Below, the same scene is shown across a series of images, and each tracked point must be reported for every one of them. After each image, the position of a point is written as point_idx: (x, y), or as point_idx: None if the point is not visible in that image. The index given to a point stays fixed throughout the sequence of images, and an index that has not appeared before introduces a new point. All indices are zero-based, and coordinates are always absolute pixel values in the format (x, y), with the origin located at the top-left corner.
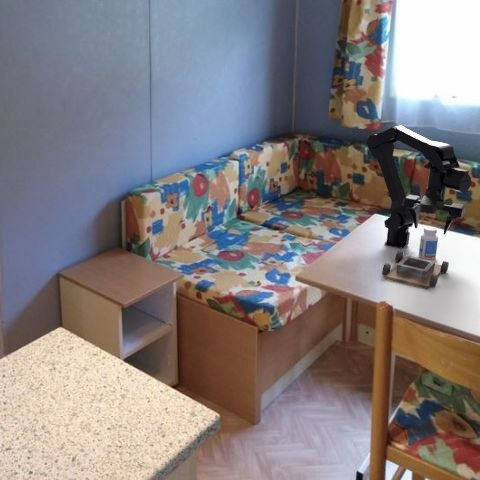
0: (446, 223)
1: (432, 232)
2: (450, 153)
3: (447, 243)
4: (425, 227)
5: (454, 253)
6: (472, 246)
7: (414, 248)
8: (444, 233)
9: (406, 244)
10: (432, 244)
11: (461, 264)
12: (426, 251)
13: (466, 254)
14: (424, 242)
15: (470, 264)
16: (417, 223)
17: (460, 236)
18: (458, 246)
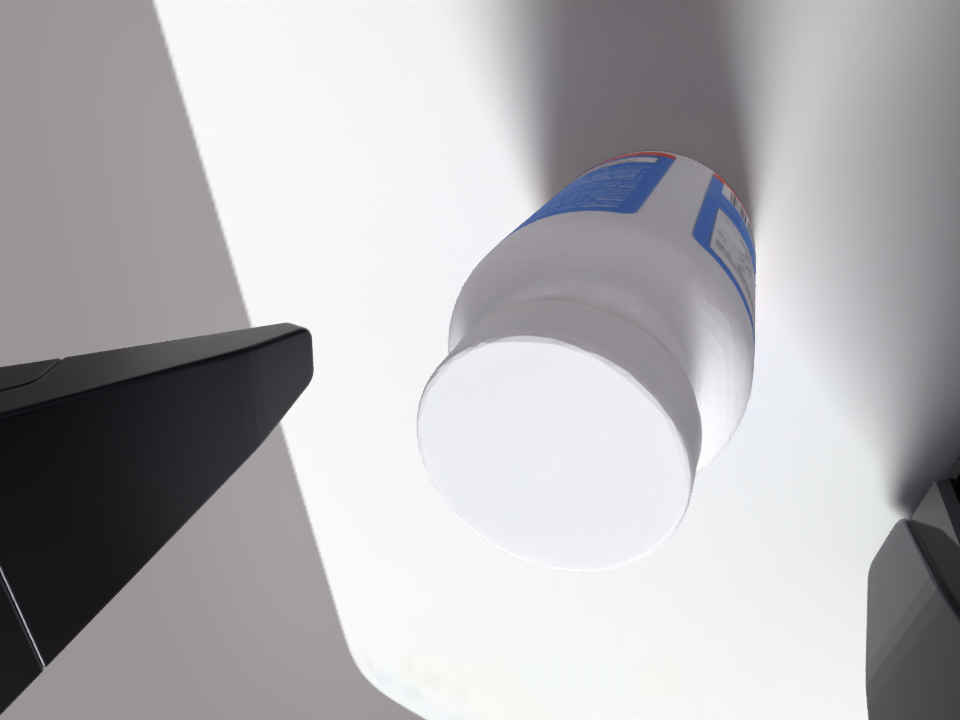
0: (36, 392)
1: (491, 322)
2: None
3: (498, 600)
4: (660, 509)
5: (412, 416)
6: (338, 564)
7: (807, 454)
8: (284, 328)
9: (935, 488)
10: (537, 212)
11: (303, 171)
12: (643, 168)
13: (332, 417)
14: (675, 219)
15: (248, 207)
16: (903, 645)
17: (440, 708)
18: (416, 555)
